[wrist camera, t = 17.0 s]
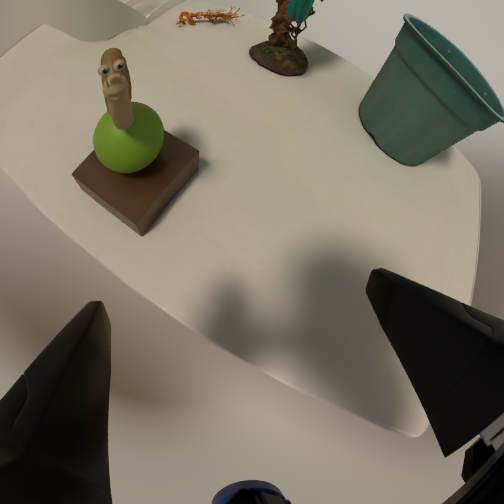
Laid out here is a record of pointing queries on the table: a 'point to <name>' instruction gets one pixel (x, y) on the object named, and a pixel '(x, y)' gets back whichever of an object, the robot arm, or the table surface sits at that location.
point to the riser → (140, 183)
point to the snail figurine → (124, 121)
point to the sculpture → (285, 39)
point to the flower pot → (426, 96)
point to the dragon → (216, 15)
